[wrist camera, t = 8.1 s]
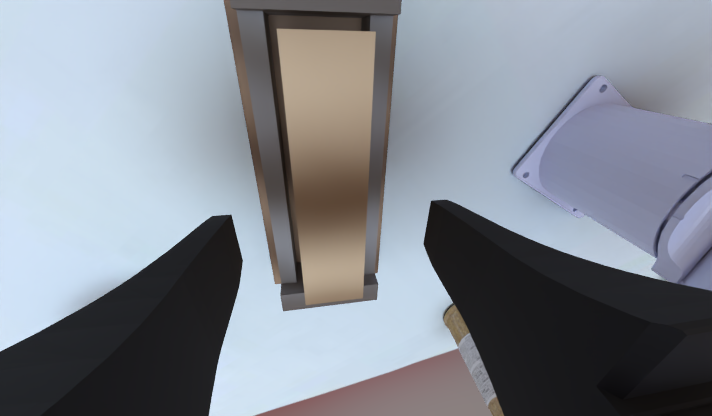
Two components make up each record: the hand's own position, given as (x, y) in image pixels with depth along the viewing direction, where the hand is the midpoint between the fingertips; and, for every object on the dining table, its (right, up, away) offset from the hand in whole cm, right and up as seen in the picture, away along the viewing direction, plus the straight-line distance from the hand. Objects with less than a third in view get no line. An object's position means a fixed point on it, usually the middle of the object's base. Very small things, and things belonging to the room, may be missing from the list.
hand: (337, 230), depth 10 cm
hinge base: (-2, +5, +8) cm, 9 cm away
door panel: (-1, +4, +6) cm, 8 cm away
